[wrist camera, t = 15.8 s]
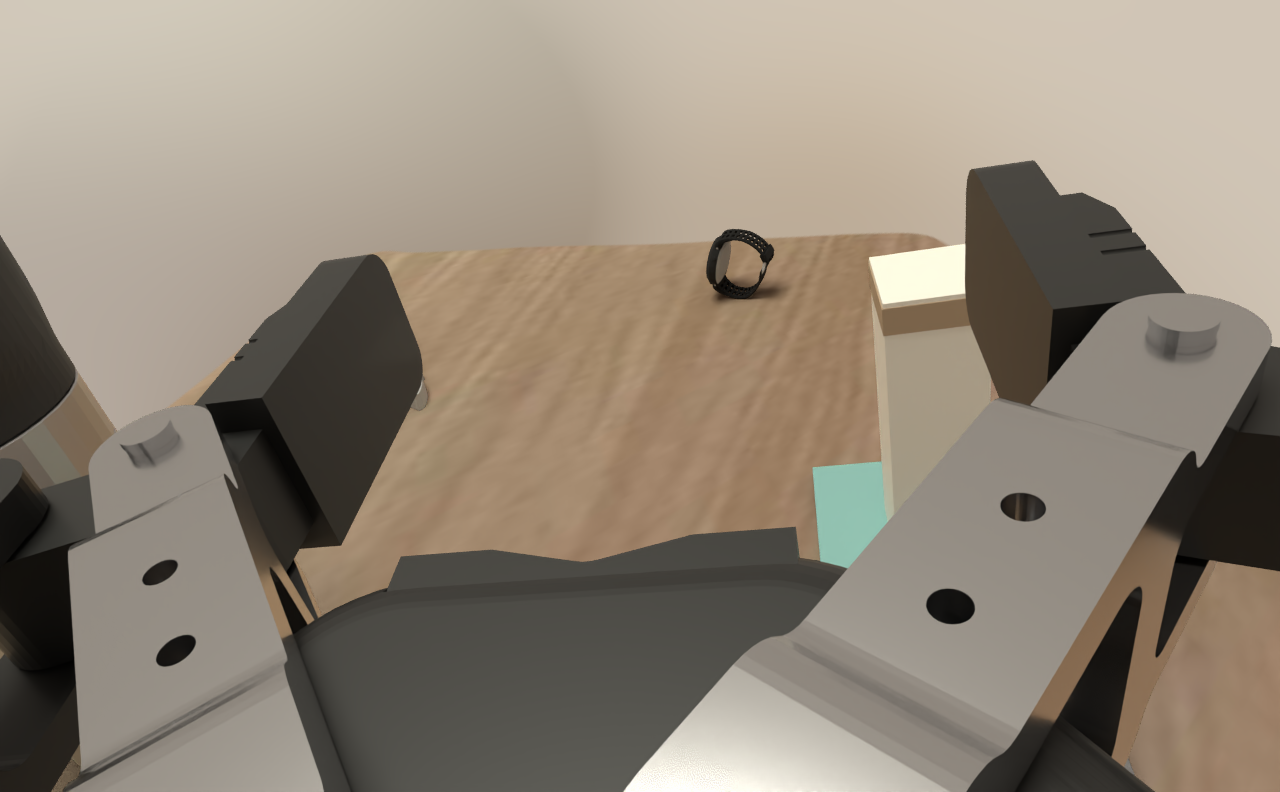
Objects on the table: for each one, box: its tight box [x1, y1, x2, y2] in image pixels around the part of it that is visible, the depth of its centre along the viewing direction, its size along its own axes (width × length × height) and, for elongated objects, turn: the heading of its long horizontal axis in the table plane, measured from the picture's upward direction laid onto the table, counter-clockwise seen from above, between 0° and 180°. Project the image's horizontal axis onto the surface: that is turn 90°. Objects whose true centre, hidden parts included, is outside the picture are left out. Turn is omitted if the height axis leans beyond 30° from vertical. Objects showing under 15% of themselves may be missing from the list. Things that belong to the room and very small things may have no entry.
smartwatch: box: [706, 229, 774, 299], centre depth 66 cm, size 4×5×5 cm
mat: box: [813, 462, 888, 568], centre depth 43 cm, size 11×11×1 cm
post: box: [868, 244, 991, 521], centre depth 39 cm, size 4×4×14 cm
